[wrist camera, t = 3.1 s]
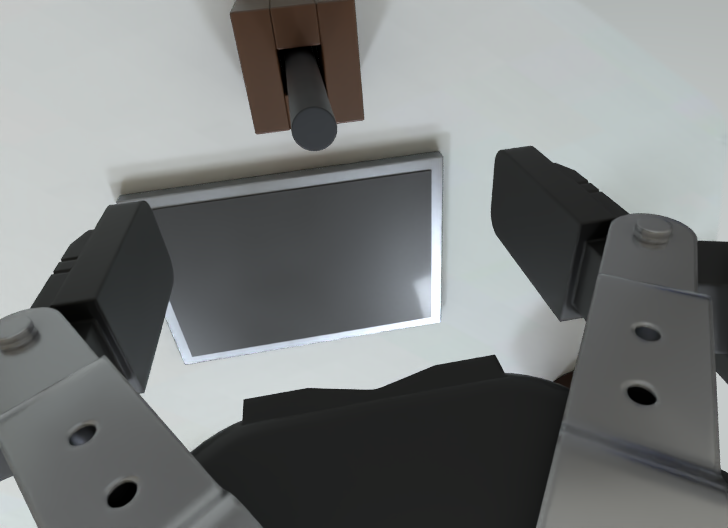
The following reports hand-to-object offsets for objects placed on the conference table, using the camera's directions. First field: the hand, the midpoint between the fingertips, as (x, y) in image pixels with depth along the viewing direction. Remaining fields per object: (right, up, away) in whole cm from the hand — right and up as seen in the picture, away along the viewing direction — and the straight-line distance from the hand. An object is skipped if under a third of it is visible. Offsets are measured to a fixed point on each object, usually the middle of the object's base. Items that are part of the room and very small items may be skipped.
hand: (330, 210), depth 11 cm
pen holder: (-3, +10, +15) cm, 19 cm away
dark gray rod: (-3, +10, +15) cm, 19 cm away
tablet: (-4, -1, +23) cm, 23 cm away
